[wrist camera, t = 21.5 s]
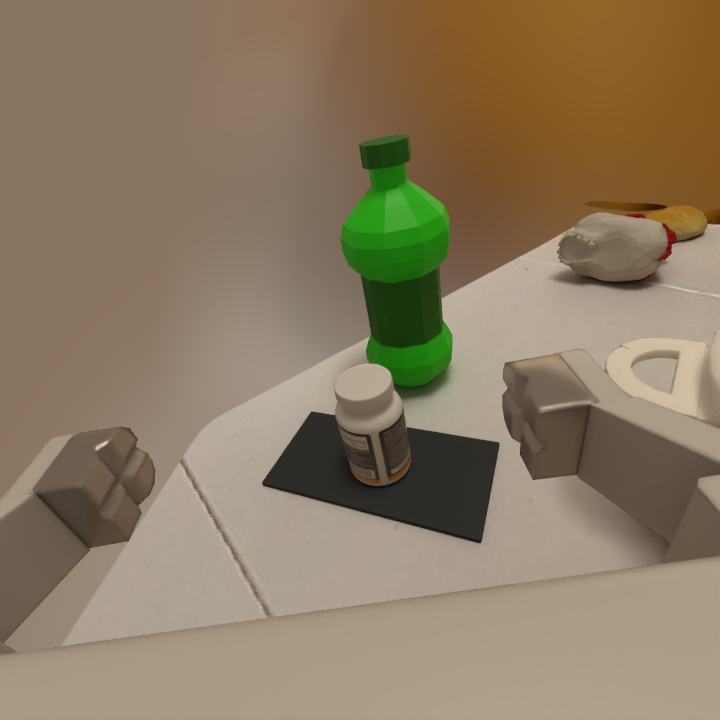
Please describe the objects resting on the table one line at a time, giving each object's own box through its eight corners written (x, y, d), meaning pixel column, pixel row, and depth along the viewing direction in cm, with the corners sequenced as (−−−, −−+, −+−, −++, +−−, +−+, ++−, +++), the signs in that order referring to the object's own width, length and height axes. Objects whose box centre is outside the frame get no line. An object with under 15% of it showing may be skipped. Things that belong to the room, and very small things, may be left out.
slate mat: (263, 485, 39) (261, 482, 39) (312, 413, 46) (311, 411, 46) (481, 543, 31) (481, 540, 30) (499, 445, 38) (499, 442, 38)
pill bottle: (398, 433, 41) (385, 351, 35) (421, 477, 36) (410, 390, 30) (344, 451, 40) (321, 370, 34) (359, 498, 35) (336, 413, 30)
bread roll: (625, 233, 71) (630, 209, 68) (671, 221, 72) (677, 197, 69) (666, 247, 64) (673, 221, 62) (716, 233, 65) (724, 207, 63)
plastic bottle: (352, 380, 50) (301, 155, 36) (412, 340, 55) (387, 129, 41) (413, 416, 43) (379, 155, 29) (475, 367, 48) (471, 123, 34)
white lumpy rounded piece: (548, 276, 62) (618, 257, 67) (617, 301, 53) (691, 278, 58) (560, 213, 57) (634, 199, 62) (638, 230, 48) (716, 211, 53)
